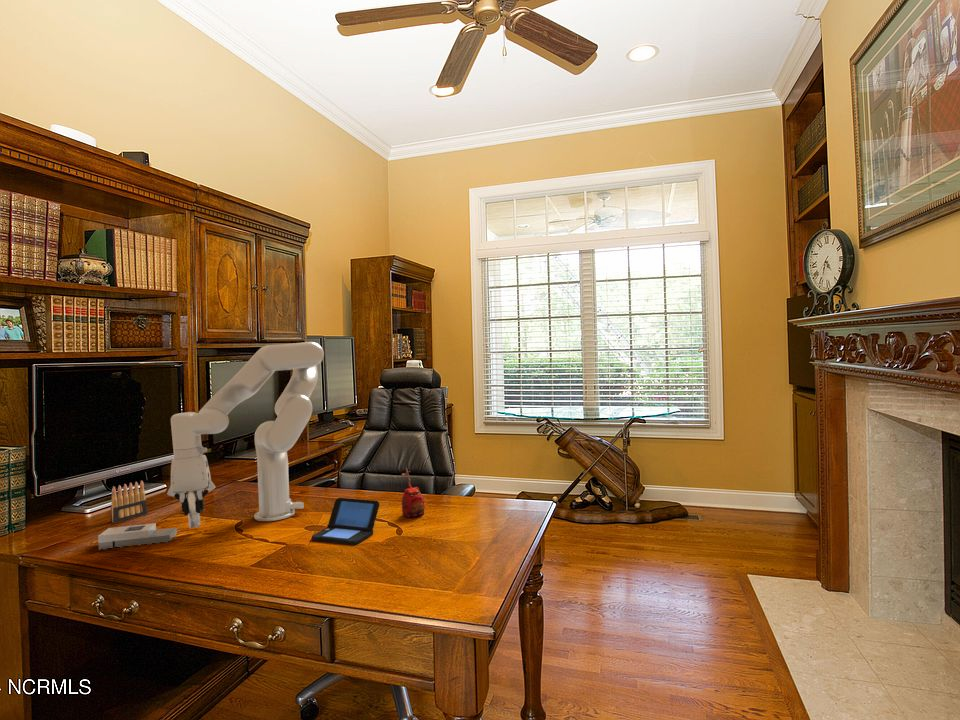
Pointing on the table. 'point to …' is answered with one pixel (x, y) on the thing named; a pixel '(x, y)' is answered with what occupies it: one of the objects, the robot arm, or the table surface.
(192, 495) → the pin
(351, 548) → the table surface
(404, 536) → the table surface
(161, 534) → the chain link
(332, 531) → the game console
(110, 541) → the chain link
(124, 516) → the ammunition clip
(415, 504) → the red clay folk toy
